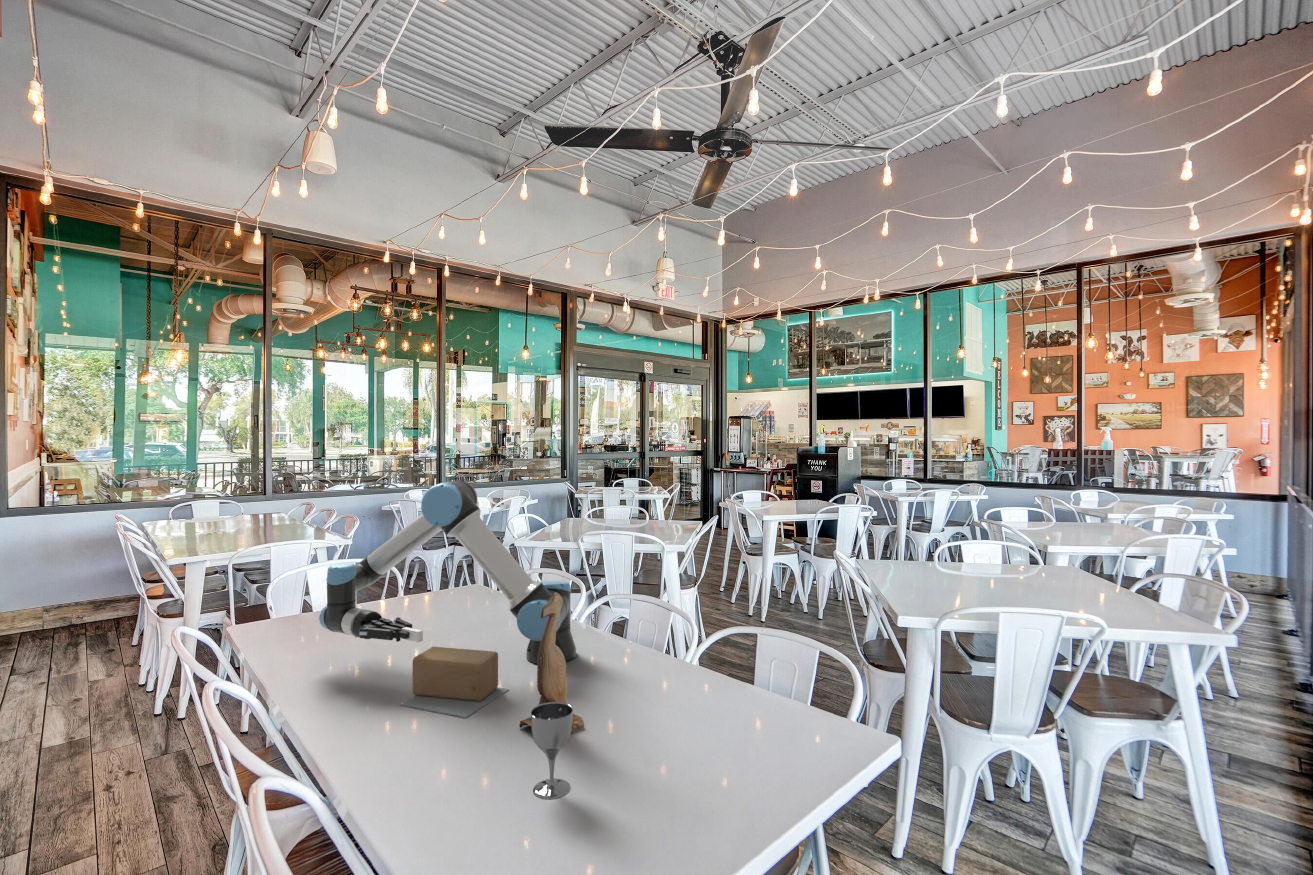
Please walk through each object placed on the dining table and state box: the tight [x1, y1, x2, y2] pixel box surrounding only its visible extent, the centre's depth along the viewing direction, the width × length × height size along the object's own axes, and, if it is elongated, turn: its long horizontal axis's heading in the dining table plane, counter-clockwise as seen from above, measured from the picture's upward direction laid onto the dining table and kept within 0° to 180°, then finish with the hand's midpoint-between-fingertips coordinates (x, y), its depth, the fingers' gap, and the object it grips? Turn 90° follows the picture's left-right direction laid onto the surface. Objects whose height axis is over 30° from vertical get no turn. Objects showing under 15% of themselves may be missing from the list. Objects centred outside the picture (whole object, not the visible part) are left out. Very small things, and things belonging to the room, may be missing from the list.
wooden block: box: [412, 646, 499, 701], centre depth 166 cm, size 10×10×20 cm
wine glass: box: [530, 702, 574, 800], centre depth 121 cm, size 8×8×15 cm
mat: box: [399, 686, 510, 719], centre depth 163 cm, size 20×18×1 cm
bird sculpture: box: [518, 592, 585, 734], centre depth 145 cm, size 11×12×32 cm
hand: (420, 636), depth 166 cm, fingers closed
